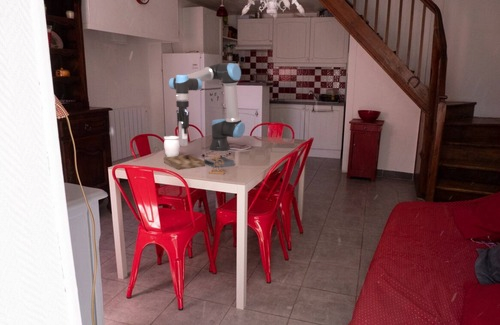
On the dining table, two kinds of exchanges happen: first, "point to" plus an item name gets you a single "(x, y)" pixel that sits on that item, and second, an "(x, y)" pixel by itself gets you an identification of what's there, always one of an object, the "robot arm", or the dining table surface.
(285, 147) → the dining table surface
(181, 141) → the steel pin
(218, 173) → the tan ornamental figurine
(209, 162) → the hitch block
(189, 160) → the tray
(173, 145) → the jar
